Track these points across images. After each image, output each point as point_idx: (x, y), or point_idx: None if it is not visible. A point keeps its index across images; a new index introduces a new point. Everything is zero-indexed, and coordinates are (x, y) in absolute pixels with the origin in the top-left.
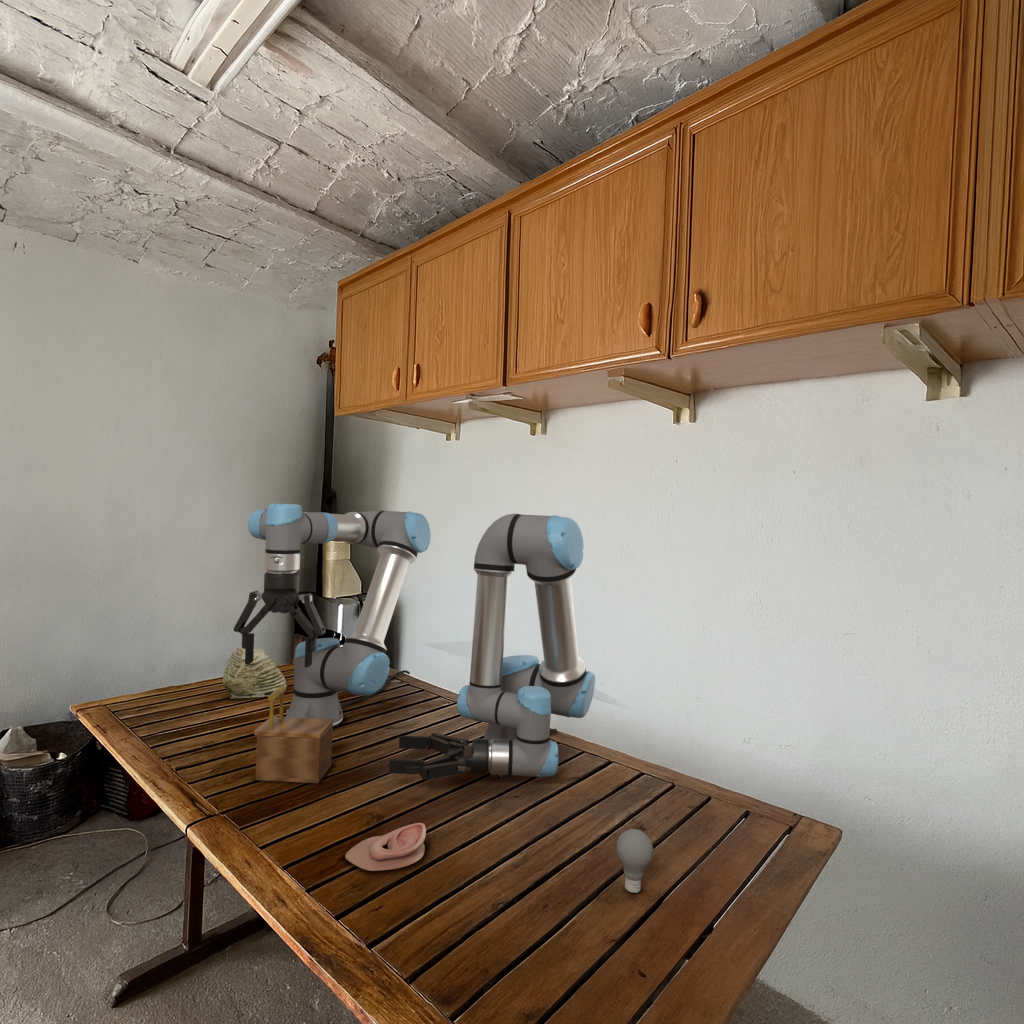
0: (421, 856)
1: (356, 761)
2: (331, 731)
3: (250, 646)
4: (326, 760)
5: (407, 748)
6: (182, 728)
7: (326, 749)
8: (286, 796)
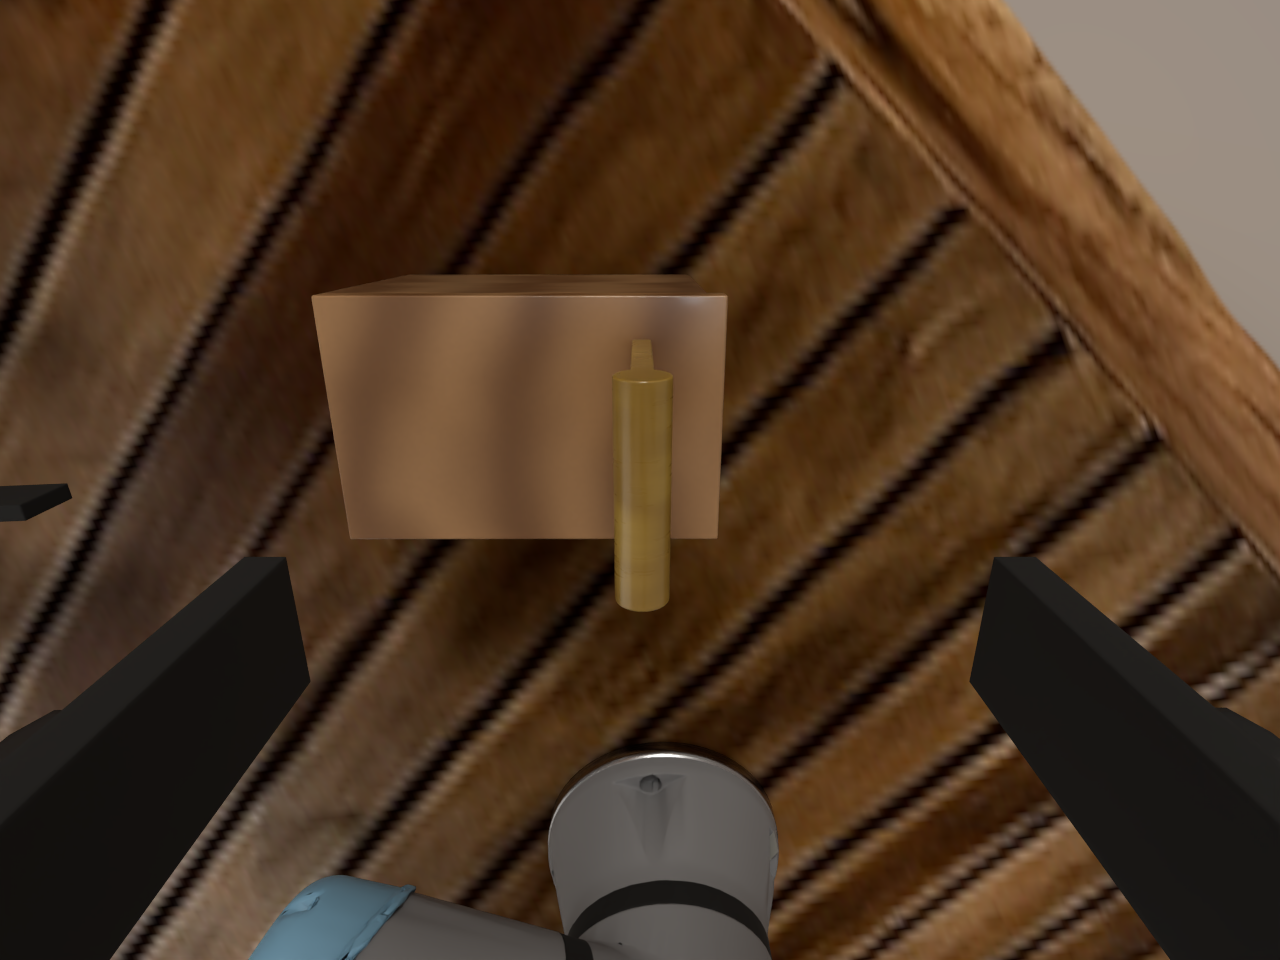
0: None
1: (344, 507)
2: None
3: (1122, 750)
4: None
5: (25, 485)
6: None
7: None
8: (490, 129)
